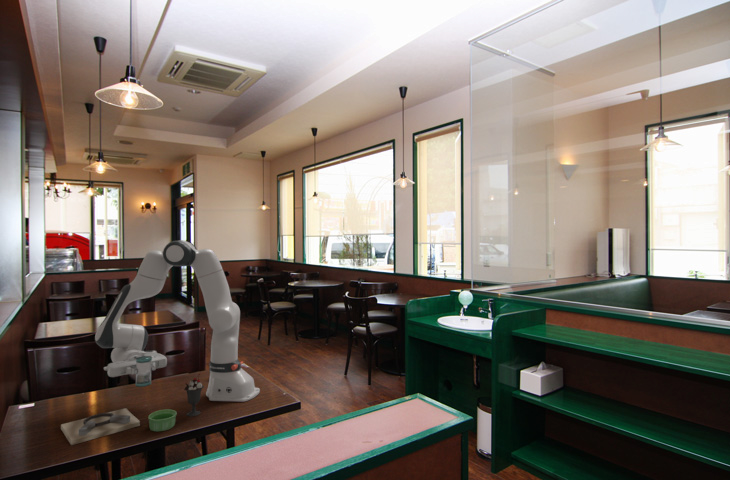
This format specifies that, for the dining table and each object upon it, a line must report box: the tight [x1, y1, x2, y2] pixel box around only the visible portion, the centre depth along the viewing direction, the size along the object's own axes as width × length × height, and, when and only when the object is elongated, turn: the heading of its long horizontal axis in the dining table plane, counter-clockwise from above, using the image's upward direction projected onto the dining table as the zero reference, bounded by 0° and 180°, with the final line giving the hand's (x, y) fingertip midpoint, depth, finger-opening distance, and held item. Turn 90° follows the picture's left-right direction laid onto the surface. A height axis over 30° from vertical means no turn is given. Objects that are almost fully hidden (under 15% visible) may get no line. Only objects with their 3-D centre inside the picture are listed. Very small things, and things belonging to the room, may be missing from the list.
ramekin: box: [148, 408, 177, 432], centre depth 143 cm, size 9×9×4 cm
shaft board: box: [60, 408, 141, 446], centre depth 142 cm, size 20×16×4 cm
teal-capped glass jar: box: [135, 356, 152, 388], centre depth 152 cm, size 5×5×10 cm
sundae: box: [183, 375, 205, 418], centre depth 154 cm, size 7×7×15 cm
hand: (144, 370), depth 152 cm, fingers closed on teal-capped glass jar, 5 cm apart
